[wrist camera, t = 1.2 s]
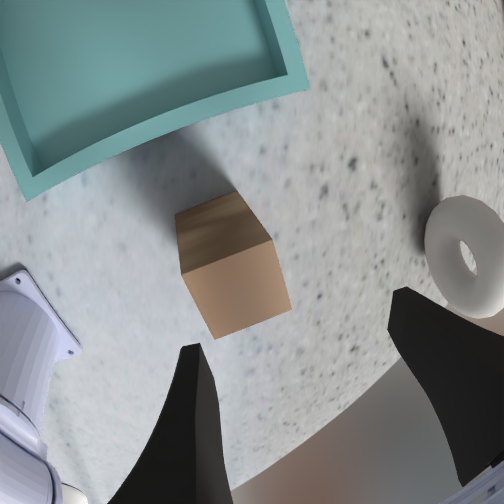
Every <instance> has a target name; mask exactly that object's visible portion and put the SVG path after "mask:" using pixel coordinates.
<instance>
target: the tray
mask: <svg viewBox="0 0 504 504" xmlns="http://www.w3.org/2000/svg"><path fill="white" fill-rule="evenodd" d="M308 89H310V85H309V81H308V78H307V74H306V70H305V67H304V63H303V59H302V56H301V52H300V49H299V46H298V42H297V39H296V36H295V32H294V29H293V26H292V23H291V20H290V17H289V13H288V10H287V7H286V4H285V1H284V0H0V142H1V145H2V147H3V150H4V152H5V155H6V157H7V160H8V162H9V164H10V167H11V169H12V171H13V174H14V176H15V178H16V180H17V183H18V185H19V187H20V189H21V191H22V193H23V195H24V197H25V200H26V202H28V201H29V200H31V199H33V198H34V197H36V196H38V195H39V194H41V193H43V192H45V191H47V190H48V189H50V188H52V187H54V186H55V185H57V184H59V183H61V182H63V181H65V180H67V179H69V178H70V177H72V176H74V175H76V174H78V173H80V172H82V171H84V170H86V169H88V168H90V167H92V166H94V165H96V164H98V163H100V162H102V161H104V160H107V159H109V158H111V157H113V156H115V155H117V154H120V153H122V152H124V151H126V150H129V149H131V148H133V147H135V146H138V145H140V144H142V143H145V142H147V141H150V140H152V139H154V138H157V137H159V136H162V135H164V134H167V133H169V132H172V131H175V130H177V129H180V128H182V127H185V126H188V125H191V124H193V123H196V122H199V121H202V120H205V119H207V118H210V117H213V116H216V115H219V114H222V113H225V112H228V111H232V110H235V109H238V108H241V107H244V106H248V105H251V104H254V103H258V102H261V101H265V100H269V99H272V98H276V97H280V96H283V95H287V94H291V93H295V92H299V91H303V90H308Z"/></svg>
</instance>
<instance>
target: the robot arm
mask: <svg viewBox="0 0 504 504" xmlns="http://www.w3.org/2000/svg"><path fill="white" fill-rule="evenodd" d="M17 278H19V279H20V281H18V280H17ZM387 330H388V332H389V334H390V336H391V338H392V340H393V342H394V344H395V346H396V348H397V350H398V352H399V353H400V355H401V356H402V358H403V359H404V361H405V362H406V364H407V365H408V367H409V368H410V370H411V371H412V373H413V374H414V376H415V377H416V379H417V380H418V382H419V383H420V385H421V386H422V388H423V389H424V391H425V392H426V394H427V396H428V398H429V399H430V401H431V403H432V405H433V408H434V410H435V412H436V414H437V416H438V418H439V420H440V423H441V425H442V428H443V430H444V433H445V435H446V438H447V441H448V444H449V447H450V449H451V452H452V455H453V459H454V463H455V467H456V471H457V475H458V479H459V481H460V483H461V485H462V487H464V486H465V485H467V484H468V483H470V482H471V481H473V480H475V479H476V478H477V477H479V476H480V475H482V474H483V473H484V472H486V471H487V470H489V469H490V468H491V467H492V468H493V469H492V470H490V471H489V472H488V473H486V474H485V475H483V476H482V477H481V478H479V479H478V480H476V481H475V482H473V483H472V484H470V485H469V486H467V487H466V488H464V489H463V490H461V491H460V492H458V493H456V494H455V495H453V496H452V497H450V498H448V499H447V500H445V501H443V502H441V503H440V504H469V503H470V502H471V501H473V500H474V499H476V498H477V497H479V496H480V495H482V494H483V493H484V492H486V491H487V490H488V492H487V497H486V498H485V499H483V500H482V501H480V502H479V503H477V504H504V336H501V335H499V334H496V333H494V332H491V331H489V330H486V329H484V328H482V327H480V326H477V325H476V324H473V323H471V322H469V321H467V320H466V319H464V318H462V317H460V316H458V315H456V314H454V313H453V312H451V311H449V310H447V309H445V308H444V307H442V306H440V305H438V304H437V303H435V302H433V301H432V300H430V299H428V298H426V297H425V296H423V295H421V294H419V293H418V292H416V291H414V290H412V289H410V288H408V287H404V288H401V289H398V290H395V291H393V297H392V304H391V311H390V317H389V323H388V329H387ZM70 350H72V351H70ZM81 352H82V347H81V345H80V344H79V343H78V342H77V340H76V339H75V338H74V337H73V335H72V334H71V333H70V332H69V330H68V329H67V328H66V326H65V325H64V324H63V322H62V321H61V320H60V318H59V317H58V316H57V314H56V313H55V312H54V310H53V309H52V307H51V306H50V305H49V303H48V302H47V300H46V299H45V297H44V296H43V294H42V293H41V292H40V290H39V289H38V287H37V286H36V284H35V282H34V281H33V279H32V278H31V276H30V275H29V273H28V272H27V271H25V270H20V271H18V272H16V273H14V274H12V275H10V276H9V277H7V278H5V279H3V280H1V281H0V504H63V489H62V484H61V480H60V477H59V475H58V473H57V471H56V470H55V468H54V467H53V466H52V465H51V464H50V463H49V462H48V461H46V459H47V450H48V446H47V445H46V444H44V443H43V442H42V441H41V440H40V438H39V437H40V431H41V425H42V419H43V414H44V409H45V403H46V399H47V394H48V389H49V385H50V380H51V376H52V372H53V368H54V364H55V363H56V362H59V361H62V360H65V359H68V358H71V357H74V356H77V355H80V354H81ZM107 504H233V500H232V497H231V492H230V488H229V483H228V479H227V474H226V470H225V464H224V457H223V447H222V435H221V423H220V411H219V402H218V396H217V391H216V386H215V381H214V377H213V375H212V372H211V370H210V367H209V365H208V362H207V360H206V357H205V355H204V352H203V350H202V347H201V345H200V343H197V344H192V345H187V346H183V347H182V348H181V350H180V354H179V358H178V362H177V366H176V370H175V373H174V377H173V380H172V383H171V386H170V389H169V392H168V395H167V398H166V401H165V403H164V406H163V408H162V411H161V413H160V416H159V418H158V421H157V423H156V426H155V428H154V430H153V432H152V434H151V436H150V438H149V440H148V442H147V444H146V446H145V448H144V450H143V452H142V454H141V455H140V457H139V459H138V461H137V462H136V464H135V466H134V467H133V469H132V471H131V472H130V474H129V475H128V476H127V478H126V479H125V481H124V482H123V484H122V485H121V487H120V488H119V489H118V491H117V492H116V493H115V495H114V496H113V497H112V499H111V500H110V501H109V502H108V503H107Z"/></svg>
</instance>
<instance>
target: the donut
mask: <svg viewBox="0 0 504 504" xmlns="http://www.w3.org/2000/svg"><path fill="white" fill-rule="evenodd" d="M460 241H463V242H464V243H465V244H466V245H467V246H468V248H469V249H470V251H471V252H472V254H473V257H474V259H475V261H476V266H477V276H476V275H475V274H473V273H472V272H471V271H470V270H469V268H468V266H467V265H466V263H465V261H464V259H463V256H462V252H461V248H460ZM424 244H425V255H426V259H427V263H428V267H429V270H430V272H431V275H432V277H433V280H434V282H435V284H436V286H437V287H438V289H439V291H440V292H441V294H442V296H443V297H444V298H445V299H446V300H447V301H448V303H449V304H450V305H451V306H452V307H454V308H455V309H456V310H458V311H459V312H460V313H462V314H464V315H467V316H470V317H473V318H485V317H491V316H493V315H495V314H496V313H497V312H499V311H500V310H501V309H502V308H504V223H503V221H502V220H501V219H500V217H499V216H498V215H497V213H496V212H495V211H494V210H493V209H491V208H490V207H489V206H487V205H486V204H485V203H483V202H482V201H480V200H478V199H474V198H471V197H468V196H465V195H461V196H455V197H449V198H446V199H444V200H443V201H442V202H441V203H439V204H438V205H437V206H436V207H435V208H434V209H433V210H432V212H431V214H430V216H429V219H428V221H427V223H426V230H425V237H424Z"/></svg>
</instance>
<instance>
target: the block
mask: <svg viewBox="0 0 504 504" xmlns="http://www.w3.org/2000/svg"><path fill="white" fill-rule="evenodd" d="M175 220H176V231H177V241H178V250H179V260H180V268H181V275H182V277H183V279H184V282H185V284H186V286H187V288H188V290H189V292H190V293H191V295H192V297H193V299H194V301H195V303H196V305H197V307H198V309H199V311H200V313H201V315H202V317H203V319H204V321H205V323H206V324H207V326H208V328H209V330H210V332H211V334H212V336H213V338H214V339H218V338H220V337H223V336H226V335H228V334H231V333H234V332H236V331H239V330H242V329H244V328H247V327H249V326H252V325H254V324H257V323H259V322H262V321H264V320H267V319H269V318H272V317H274V316H277V315H279V314H282V313H284V312H287V311H289V310H291V309H292V307H291V303H290V299H289V296H288V292H287V289H286V285H285V282H284V278H283V274H282V271H281V267H280V264H279V260H278V257H277V254H276V250H275V247H274V243H273V240H272V238H271V237H270V235H269V234H268V233H267V231H266V230H265V228H264V227H263V226H262V224H261V223H260V221H259V220H258V219H257V217H256V216H255V215H254V213H253V212H252V210H251V209H250V208H249V206H248V205H247V203H246V202H245V201H244V199H243V198H242V197H241V195H240V194H239V192H238V191H235V192H232V193H229V194H226V195H224V196H221V197H218V198H216V199H213V200H211V201H208V202H205V203H203V204H200V205H198V206H195V207H192V208H190V209H187V210H185V211H182V212H180V213H177V214H175Z"/></svg>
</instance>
